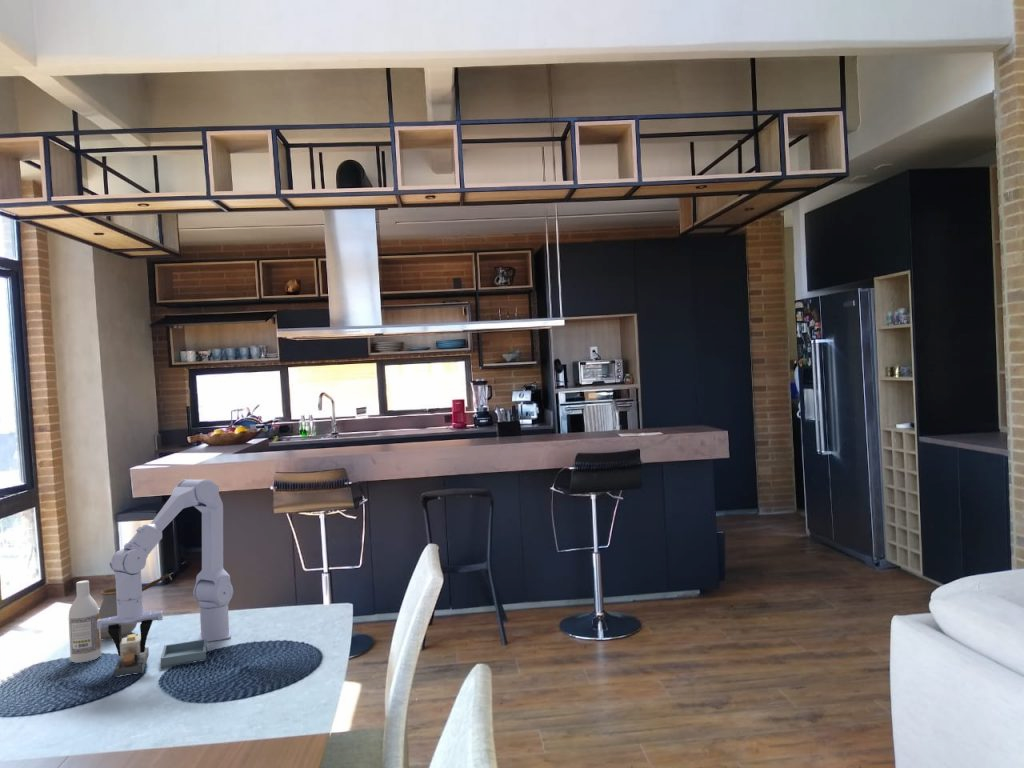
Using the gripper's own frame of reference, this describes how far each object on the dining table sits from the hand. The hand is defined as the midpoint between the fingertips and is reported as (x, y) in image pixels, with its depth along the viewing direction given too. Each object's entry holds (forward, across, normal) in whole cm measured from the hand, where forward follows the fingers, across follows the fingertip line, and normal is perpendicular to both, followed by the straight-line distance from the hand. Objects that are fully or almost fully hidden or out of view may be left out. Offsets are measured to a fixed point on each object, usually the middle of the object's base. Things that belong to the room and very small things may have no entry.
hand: (131, 653), depth 190 cm
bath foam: (+3, -12, +12) cm, 17 cm away
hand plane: (+3, 0, 0) cm, 3 cm away
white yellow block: (0, 0, 0) cm, 0 cm away
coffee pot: (+3, -3, +33) cm, 33 cm away
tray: (+3, +12, 0) cm, 12 cm away
